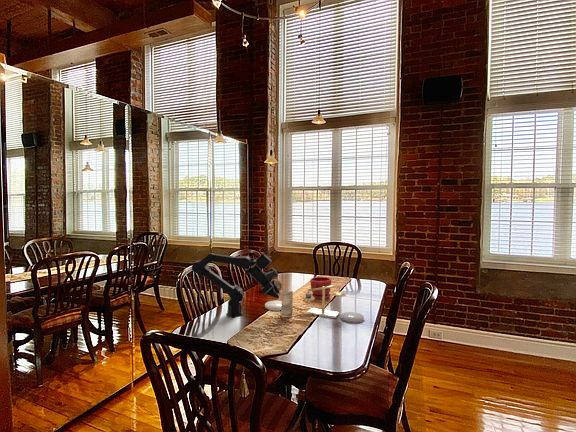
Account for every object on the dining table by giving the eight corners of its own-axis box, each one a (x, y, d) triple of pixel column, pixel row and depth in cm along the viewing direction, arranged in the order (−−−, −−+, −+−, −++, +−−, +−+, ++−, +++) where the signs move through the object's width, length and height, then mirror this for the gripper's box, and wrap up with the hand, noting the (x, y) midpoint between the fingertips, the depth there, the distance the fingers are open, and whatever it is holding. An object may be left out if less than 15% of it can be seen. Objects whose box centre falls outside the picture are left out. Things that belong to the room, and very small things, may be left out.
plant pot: (330, 294, 228) (330, 276, 227) (331, 300, 215) (331, 281, 214) (310, 293, 229) (310, 275, 229) (309, 299, 216) (310, 280, 216)
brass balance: (300, 312, 193) (300, 281, 192) (304, 308, 199) (305, 279, 198) (343, 319, 183) (344, 287, 182) (346, 315, 190) (347, 284, 188)
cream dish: (276, 312, 193) (276, 310, 193) (260, 306, 203) (260, 304, 202) (294, 307, 203) (294, 304, 202) (277, 301, 212) (277, 299, 212)
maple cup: (286, 318, 184) (287, 294, 183) (278, 315, 188) (278, 291, 188) (295, 315, 188) (296, 291, 188) (287, 312, 193) (287, 289, 192)
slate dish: (355, 324, 176) (355, 321, 176) (335, 318, 185) (335, 315, 185) (368, 318, 185) (368, 316, 185) (349, 313, 193) (349, 310, 193)
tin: (260, 290, 236) (260, 278, 236) (263, 289, 239) (263, 277, 239) (280, 293, 229) (280, 280, 229) (282, 292, 232) (282, 279, 232)
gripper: (268, 268, 177) (289, 289, 178) (269, 261, 196) (289, 280, 197) (252, 283, 178) (274, 304, 179) (255, 274, 196) (275, 294, 197)
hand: (278, 295), depth 188 cm, fingers open, 9 cm apart
